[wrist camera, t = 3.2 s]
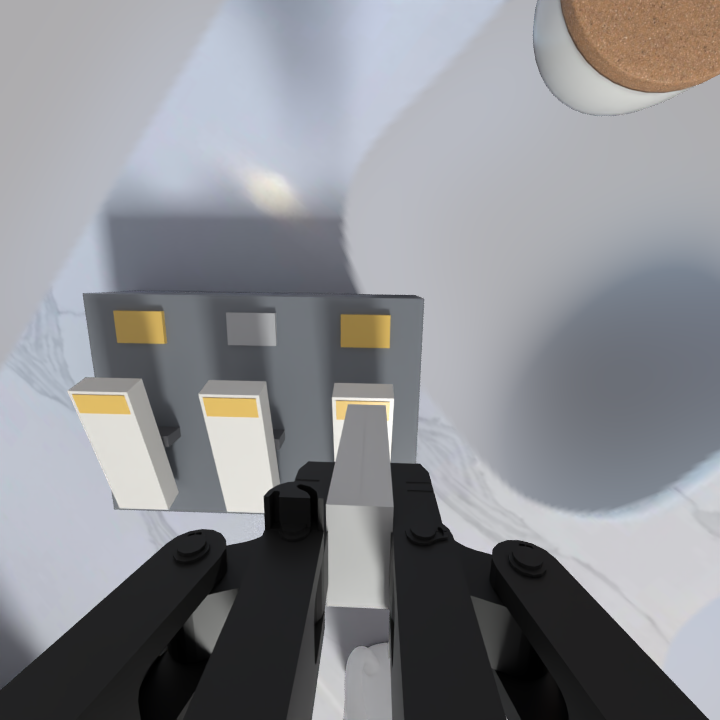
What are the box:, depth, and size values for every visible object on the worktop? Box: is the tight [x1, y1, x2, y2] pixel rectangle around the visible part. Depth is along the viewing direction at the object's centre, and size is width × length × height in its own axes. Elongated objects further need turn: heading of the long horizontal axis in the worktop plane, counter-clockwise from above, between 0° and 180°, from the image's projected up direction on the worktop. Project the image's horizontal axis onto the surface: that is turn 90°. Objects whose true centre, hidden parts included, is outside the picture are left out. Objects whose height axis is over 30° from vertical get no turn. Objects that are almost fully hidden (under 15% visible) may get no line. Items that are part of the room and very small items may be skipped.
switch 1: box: [68, 377, 179, 510], centre depth 22 cm, size 3×9×1 cm, turn 179°
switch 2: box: [198, 380, 280, 513], centre depth 22 cm, size 3×9×1 cm, turn 179°
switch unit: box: [83, 291, 424, 514], centre depth 26 cm, size 21×15×6 cm
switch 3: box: [332, 383, 394, 462], centre depth 22 cm, size 3×9×2 cm, turn 179°
